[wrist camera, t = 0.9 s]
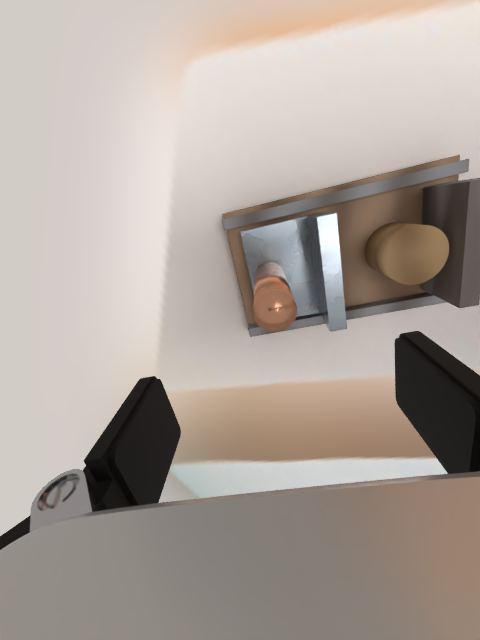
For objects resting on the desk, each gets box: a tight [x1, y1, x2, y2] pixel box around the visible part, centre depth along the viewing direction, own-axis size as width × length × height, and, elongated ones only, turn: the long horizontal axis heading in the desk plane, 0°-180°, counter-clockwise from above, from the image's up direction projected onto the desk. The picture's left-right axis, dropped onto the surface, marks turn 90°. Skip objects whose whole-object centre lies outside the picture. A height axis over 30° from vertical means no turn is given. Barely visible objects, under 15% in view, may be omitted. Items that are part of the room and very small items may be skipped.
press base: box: [222, 155, 480, 337], centre depth 26 cm, size 22×14×8 cm, turn 103°
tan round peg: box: [365, 222, 449, 285], centre depth 25 cm, size 5×5×5 cm
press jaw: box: [240, 212, 347, 332], centre depth 23 cm, size 8×10×12 cm
